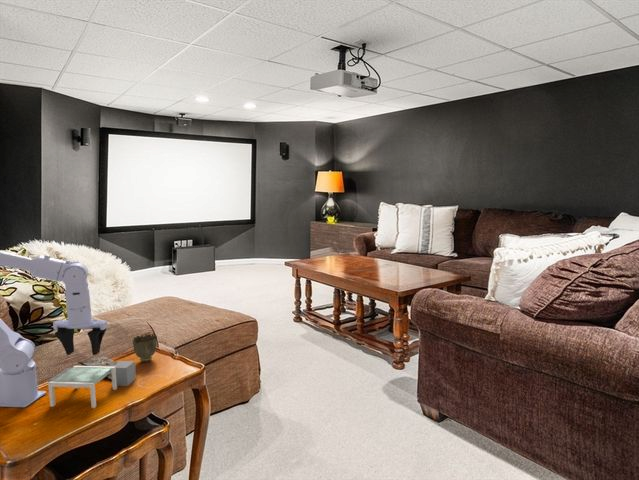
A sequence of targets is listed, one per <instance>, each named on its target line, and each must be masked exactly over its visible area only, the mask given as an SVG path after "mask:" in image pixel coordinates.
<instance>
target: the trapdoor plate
mask: <svg viewBox="0 0 639 480" xmlns="http://www.w3.org/2000/svg"><path fill="white" fill-rule="evenodd" d="M109 373H111V369H109V368H75V367H73V366H72V367H67V368H65V369H64V370H63V371H61V372H59V373H57V374H56V375H54V376H52V377H51V378H50V379H48V380H47V382H48V383H49V382H50V381H54V382H90V383H95V385H96V384H97V383H99V382H100V381H102V380H103V379H104V378H106V377H107V375H108V374H109ZM48 383H47V384H48Z"/></svg>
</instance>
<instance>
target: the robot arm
mask: <svg viewBox="0 0 639 480" xmlns="http://www.w3.org/2000/svg"><path fill="white" fill-rule="evenodd" d="M0 267H5V268H6V267H7V268H11V269H19V270H24V271H28V272H29V274H31V276H32V277H35V278H40V279H44V280H49V281H54V282H59V283H60V282H63V284H64V285H65V286H64V287H65V292H64V295H65V303H66V305H65V306H66V313H67V314H66V315H67V320H65V319H64V320H57V321H54V322H53V323H52V324H53V325H52V326H53V327H52V328H53V330H56V331H55V332H54V336H55V337H56V338H57V339H58V340H59V342H60V343H61V345H62V347H63V348H64V350H65V351H64V352H65V354H66V356H69V355H71V354H73V353H74V352H75V344H74V342H75V341H74V335H75V330H89V331H88V332H87V334H86V335H88V338H89V341H90V345H91V352H92V355H93V356H97V355H98V354H99V353H100V351H101V346H102V345H101V344H102V341H103V338H104V336H105V333H106V332H107V328H108V325H109V324H108V320H100V319H95V318H94V319H93V317H92V309H91V297H90V288H89V282H88V276H89V269H88V267H87V266H86V265H85V264H84V263H82V262H79V261H72V260H70V259H66V260H62V259H58V258H53V257H52V255H50V254H44V255H37V256H35V257H34V258H31V257H28V256H24V255H20V254H18V253H12V252H8V251H5V250H0ZM35 353H36V345H35V343H34V342H33V341H32V340H30V339H28V338H25V337H24V336H22V335H21V334H20V333H18V332H16V331H13V330H12V329H11V328H10V327H9V326H8V325H7V323H6V322H4V321H3V320H2V318H1V317H0V406H1V407H5V408H6V407H7V408H26V407H28V406H30V405H31V404H32V403H33V402H35V401H37V400H38V399H40V398H41V397H42V396H44V395H45V394H47V391H45V390H41V391H40V390H39V389H38V388H39V387H38V379H37V378H38V377H37V367H36V366H37V365H36V362H35V361H34V360H33V357H34V354H35Z"/></svg>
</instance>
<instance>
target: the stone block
mask: <svg viewBox="0 0 639 480" xmlns="http://www.w3.org/2000/svg"><path fill="white" fill-rule="evenodd" d="M113 367H116V381H117V387H118V386H119V387H128V386H130V385H131V384H132V383H134V381H136V379H137V377H136V376H137V374H136V363H135V360H134V361H133V360H119V361H118V363H117V362H116V364H115V365H114V366H113Z"/></svg>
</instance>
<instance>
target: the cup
mask: <svg viewBox="0 0 639 480" xmlns="http://www.w3.org/2000/svg"><path fill="white" fill-rule="evenodd" d="M131 340H132V344H133V349H134V353H135V356H136V357H138V358H139V360H140V362H142V363H147V362H148V363H149V362H151V361H152V359H153V355H155V353H156V351H157V344H158V336H157V334H154V333H153V334H151V333H148V334H147V333H145V335H143V334H141V336H140V335H136V337H133V339H131Z"/></svg>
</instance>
